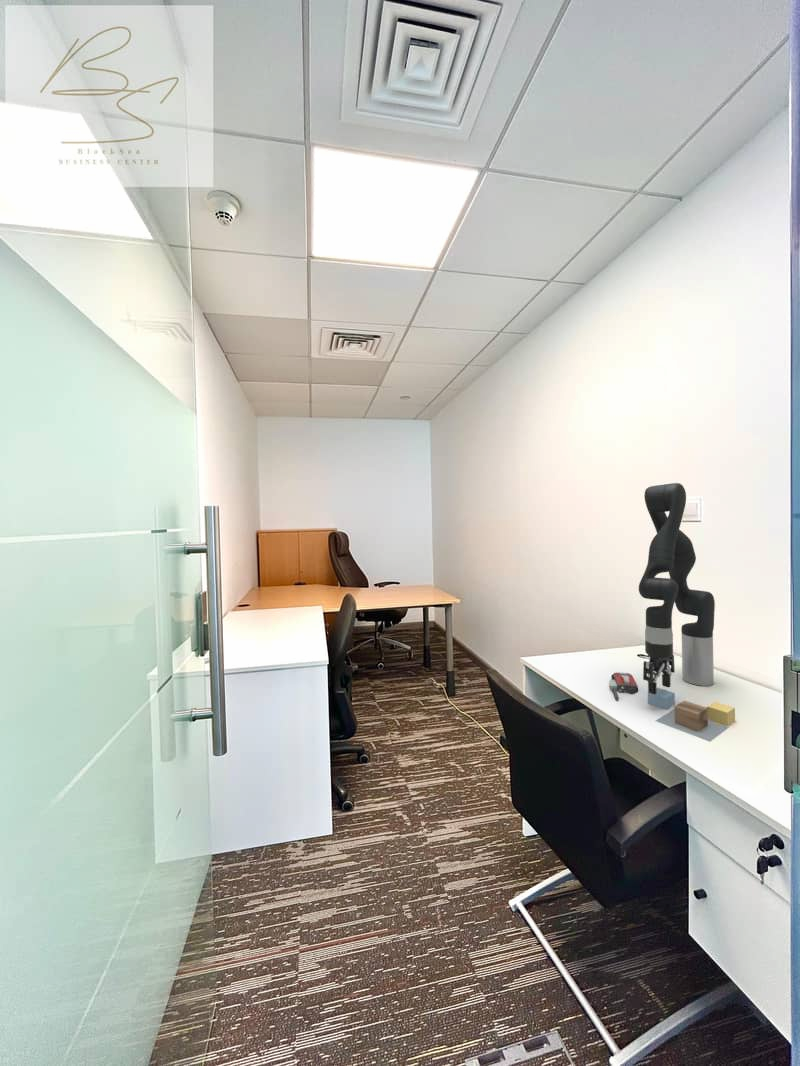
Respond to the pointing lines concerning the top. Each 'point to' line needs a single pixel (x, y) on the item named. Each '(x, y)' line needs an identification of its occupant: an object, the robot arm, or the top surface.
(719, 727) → the slate board
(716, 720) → the ochre brick
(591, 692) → the top surface
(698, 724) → the walnut brick
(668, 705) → the blue brick
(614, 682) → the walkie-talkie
